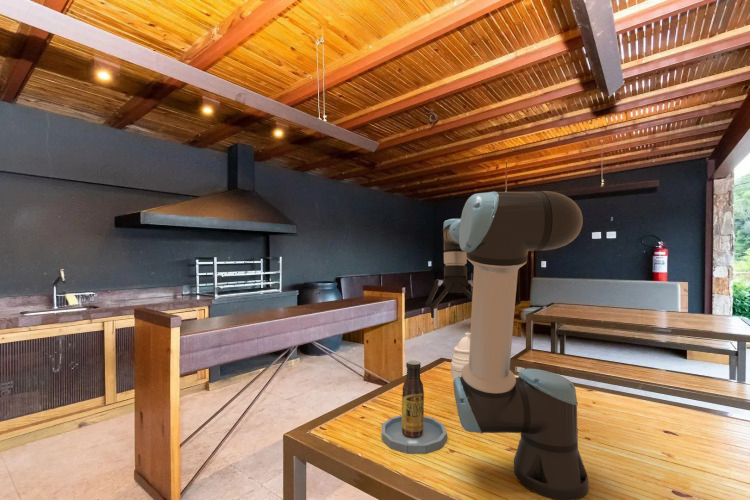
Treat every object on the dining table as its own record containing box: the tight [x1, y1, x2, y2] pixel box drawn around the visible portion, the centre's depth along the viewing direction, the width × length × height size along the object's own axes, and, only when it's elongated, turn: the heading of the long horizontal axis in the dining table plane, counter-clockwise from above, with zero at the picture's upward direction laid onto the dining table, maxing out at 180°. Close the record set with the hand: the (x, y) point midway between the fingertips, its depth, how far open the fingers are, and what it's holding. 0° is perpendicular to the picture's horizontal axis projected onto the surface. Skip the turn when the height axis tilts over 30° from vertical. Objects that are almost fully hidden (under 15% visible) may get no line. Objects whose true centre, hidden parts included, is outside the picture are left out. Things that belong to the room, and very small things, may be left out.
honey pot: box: [450, 332, 471, 379], centre depth 148 cm, size 13×13×18 cm
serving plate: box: [381, 414, 448, 455], centre depth 98 cm, size 18×18×2 cm
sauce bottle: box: [401, 360, 425, 437], centre depth 98 cm, size 6×6×20 cm
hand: (456, 329), depth 115 cm, fingers open, 13 cm apart
